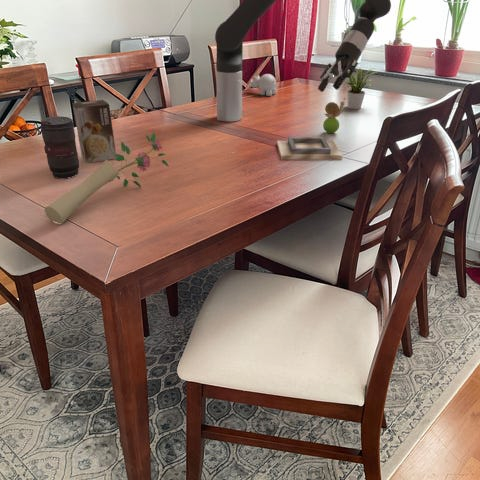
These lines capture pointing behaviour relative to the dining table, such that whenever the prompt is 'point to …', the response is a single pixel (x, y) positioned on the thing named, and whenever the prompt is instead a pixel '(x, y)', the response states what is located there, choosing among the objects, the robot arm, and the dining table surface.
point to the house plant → (357, 89)
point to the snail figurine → (332, 116)
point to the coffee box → (95, 130)
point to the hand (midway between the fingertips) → (327, 89)
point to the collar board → (308, 148)
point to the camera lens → (60, 146)
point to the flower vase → (98, 182)
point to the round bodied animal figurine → (265, 84)
